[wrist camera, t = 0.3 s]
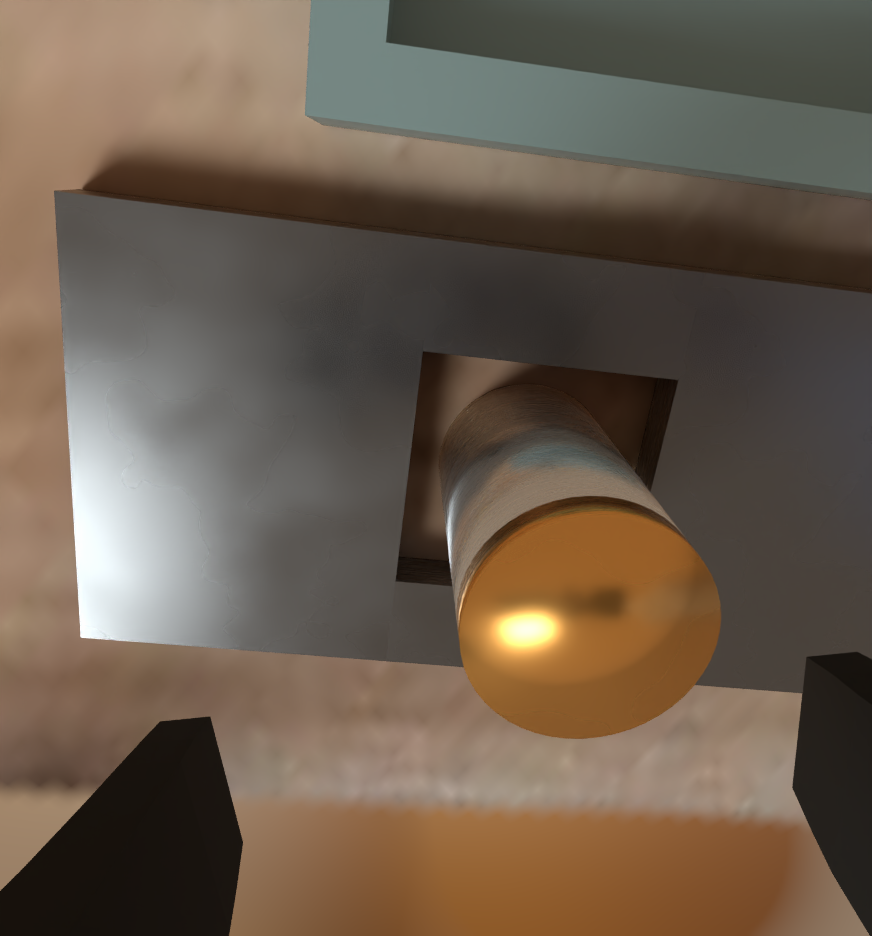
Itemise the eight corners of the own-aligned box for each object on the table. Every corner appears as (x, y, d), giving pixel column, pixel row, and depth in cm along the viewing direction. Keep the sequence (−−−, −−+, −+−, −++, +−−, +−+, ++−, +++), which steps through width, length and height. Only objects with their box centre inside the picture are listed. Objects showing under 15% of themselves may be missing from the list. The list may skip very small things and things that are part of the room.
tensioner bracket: (993, 304, 17) (1035, 314, 16) (850, 669, 20) (875, 698, 19) (79, 189, 15) (53, 191, 14) (99, 609, 19) (80, 637, 18)
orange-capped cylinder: (621, 393, 17) (753, 529, 11) (587, 546, 19) (685, 746, 12) (450, 375, 17) (480, 502, 10) (429, 532, 18) (444, 730, 12)
